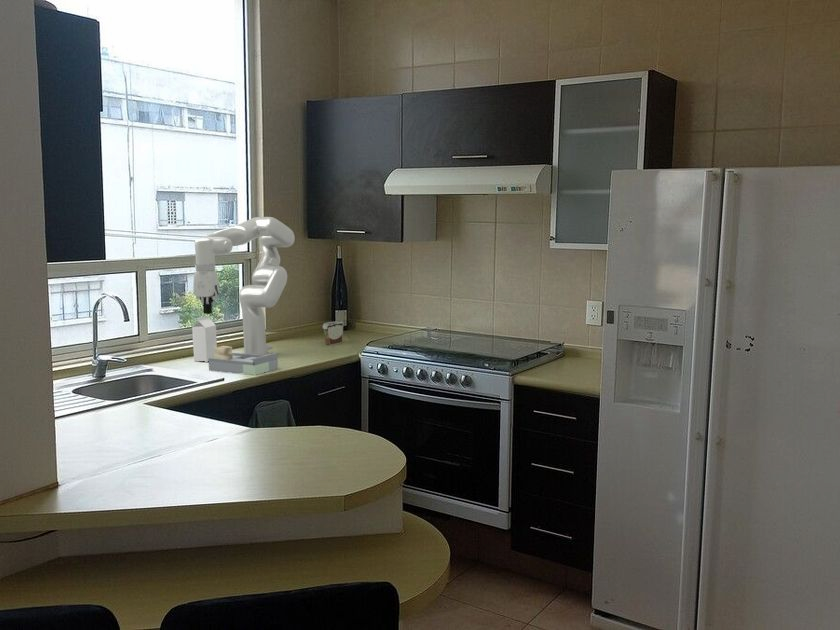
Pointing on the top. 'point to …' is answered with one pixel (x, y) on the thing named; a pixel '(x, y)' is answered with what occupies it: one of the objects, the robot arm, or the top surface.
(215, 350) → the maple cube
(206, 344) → the milk carton
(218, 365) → the two-pit board
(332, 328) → the food container
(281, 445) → the top surface
